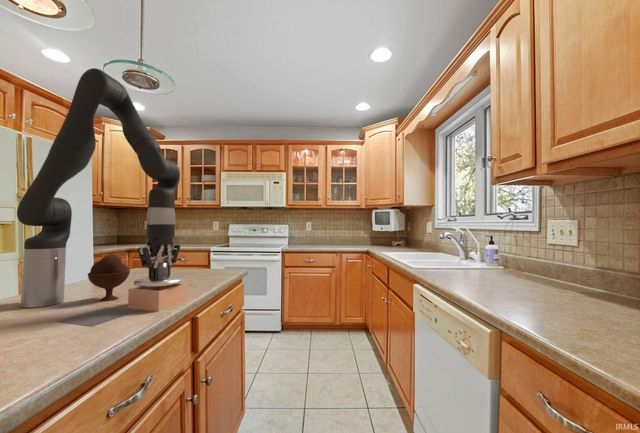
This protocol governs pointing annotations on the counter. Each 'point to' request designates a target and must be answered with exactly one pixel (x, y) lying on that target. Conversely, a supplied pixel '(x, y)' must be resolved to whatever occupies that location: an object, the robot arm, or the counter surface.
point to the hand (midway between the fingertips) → (159, 279)
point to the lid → (160, 278)
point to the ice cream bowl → (108, 275)
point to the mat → (97, 317)
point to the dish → (157, 297)
